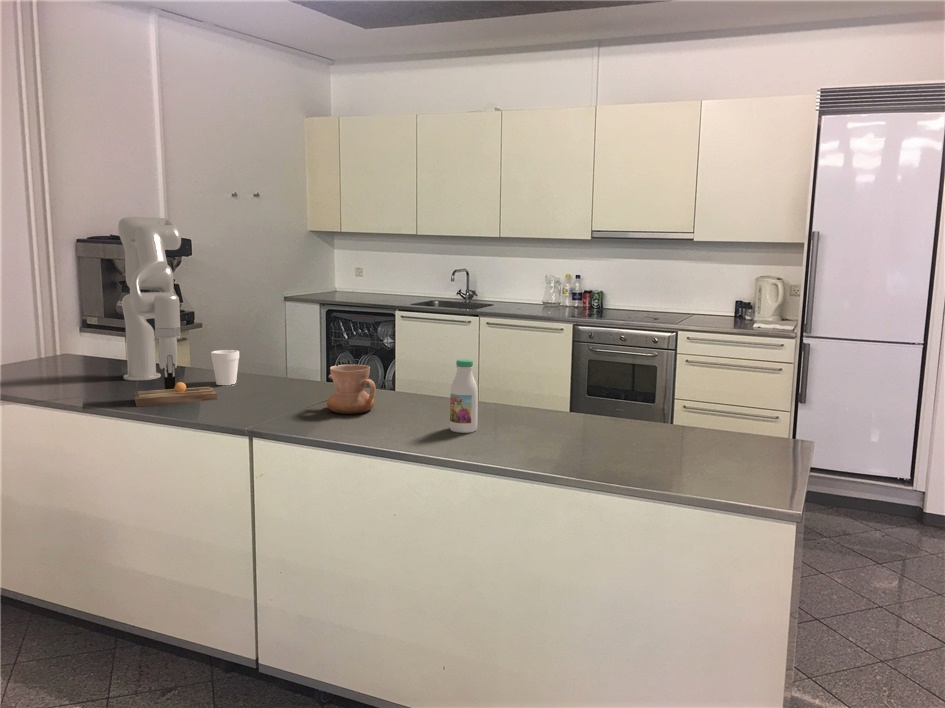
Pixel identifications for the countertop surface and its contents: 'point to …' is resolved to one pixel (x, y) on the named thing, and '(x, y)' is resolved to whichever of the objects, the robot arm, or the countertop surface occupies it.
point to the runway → (173, 396)
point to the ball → (180, 387)
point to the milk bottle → (464, 399)
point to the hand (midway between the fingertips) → (170, 388)
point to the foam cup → (225, 366)
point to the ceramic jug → (351, 389)
